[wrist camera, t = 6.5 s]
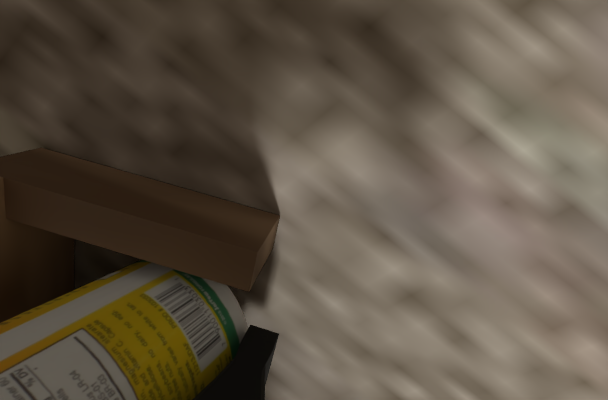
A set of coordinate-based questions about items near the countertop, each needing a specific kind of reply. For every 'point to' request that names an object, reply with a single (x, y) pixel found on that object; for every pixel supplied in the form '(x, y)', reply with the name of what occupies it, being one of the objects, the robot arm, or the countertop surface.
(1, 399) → the supplement bottle
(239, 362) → the robot arm
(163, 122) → the countertop surface
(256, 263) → the wooden holder
